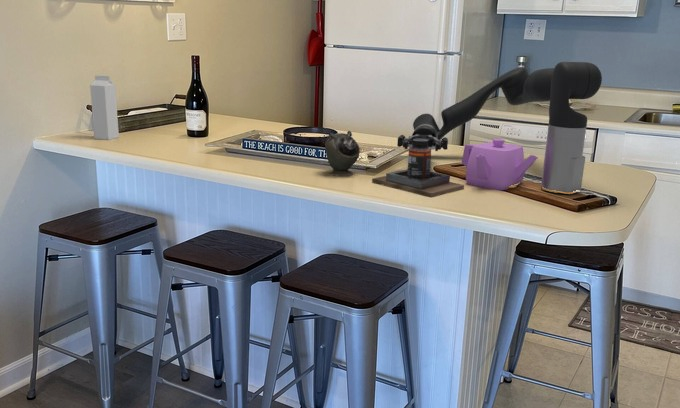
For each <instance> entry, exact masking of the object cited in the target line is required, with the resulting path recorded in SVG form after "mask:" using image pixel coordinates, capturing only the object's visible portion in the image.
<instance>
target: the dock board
mask: <svg viewBox="0 0 680 408" xmlns="http://www.w3.org/2000/svg"><path fill="white" fill-rule="evenodd" d="M371 182H372V183H374V184H378V185H382V186H386V187H390V188H393V189H394V188H395V189H398V190H401V191H404V192H410V193H412V194H413V193H414V194H416V195H417V194H418V195H421V196H424V197H425V196H426V197H429V198H433V197H438V196H441V195H444V194H449V193H453V192H456V191H461V190H464V189H465V184H461V183H457V182H453V181H450V183H447V184H442V185H438V186H434V187H430V188H426V189H417V188H413V187H409V186H405V185H401V184H397V183H393V182H389V181H386V175H384V176H377V177H374V178H373V177H372V179H371Z"/></svg>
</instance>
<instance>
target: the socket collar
mask: <svg viewBox="0 0 680 408" xmlns="http://www.w3.org/2000/svg"><path fill="white" fill-rule="evenodd" d="M407 173H408V168H407V169H403V170H397V171H392V172H387V173H385V176H386V181H389V182H393V183H397V184H401V185H405V186H409V187H413V188H417V189H426V188H430V187H434V186H438V185H442V184H447V183H450V182H451V181H450V179H451V175H449V174H445V173H439V172H436V171H431V170H430V178H427V179H423V180H419V179H415V178H410V177H407Z"/></svg>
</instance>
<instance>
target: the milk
mask: <svg viewBox="0 0 680 408" xmlns="http://www.w3.org/2000/svg"><path fill="white" fill-rule="evenodd" d="M110 79H111V78H110V76H109V75H98V74H96V75H94V80H93V82H91V84H90V86H89V88H90V90H89V91H90V98H91V99H90V100H91V101H90V102H91V111H92V125H93V138H94V140H104V141H105V140H107V141H111V140H115V139H119V138H120V134H119V121H118V120H119V119H118V107H117V106H118V105H117V104H118V103H117V89H116V84H115V83H113V81H111V80H110Z"/></svg>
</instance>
